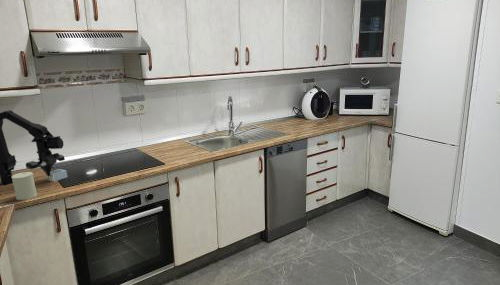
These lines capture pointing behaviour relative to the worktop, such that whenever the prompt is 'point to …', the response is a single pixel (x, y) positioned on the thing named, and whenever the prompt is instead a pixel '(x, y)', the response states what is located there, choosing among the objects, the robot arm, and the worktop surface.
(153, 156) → the worktop surface
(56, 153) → the robot arm
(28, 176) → the can
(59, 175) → the light blue box
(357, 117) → the worktop surface
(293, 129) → the worktop surface
